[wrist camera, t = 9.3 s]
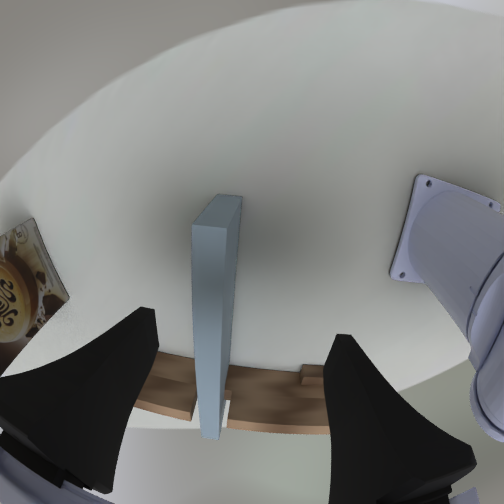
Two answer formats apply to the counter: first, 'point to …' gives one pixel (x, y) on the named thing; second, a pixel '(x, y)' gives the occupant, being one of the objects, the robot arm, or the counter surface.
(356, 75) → the counter surface
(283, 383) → the walnut slotted plate
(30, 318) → the coffee box
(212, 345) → the grey notched plate
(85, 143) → the counter surface
